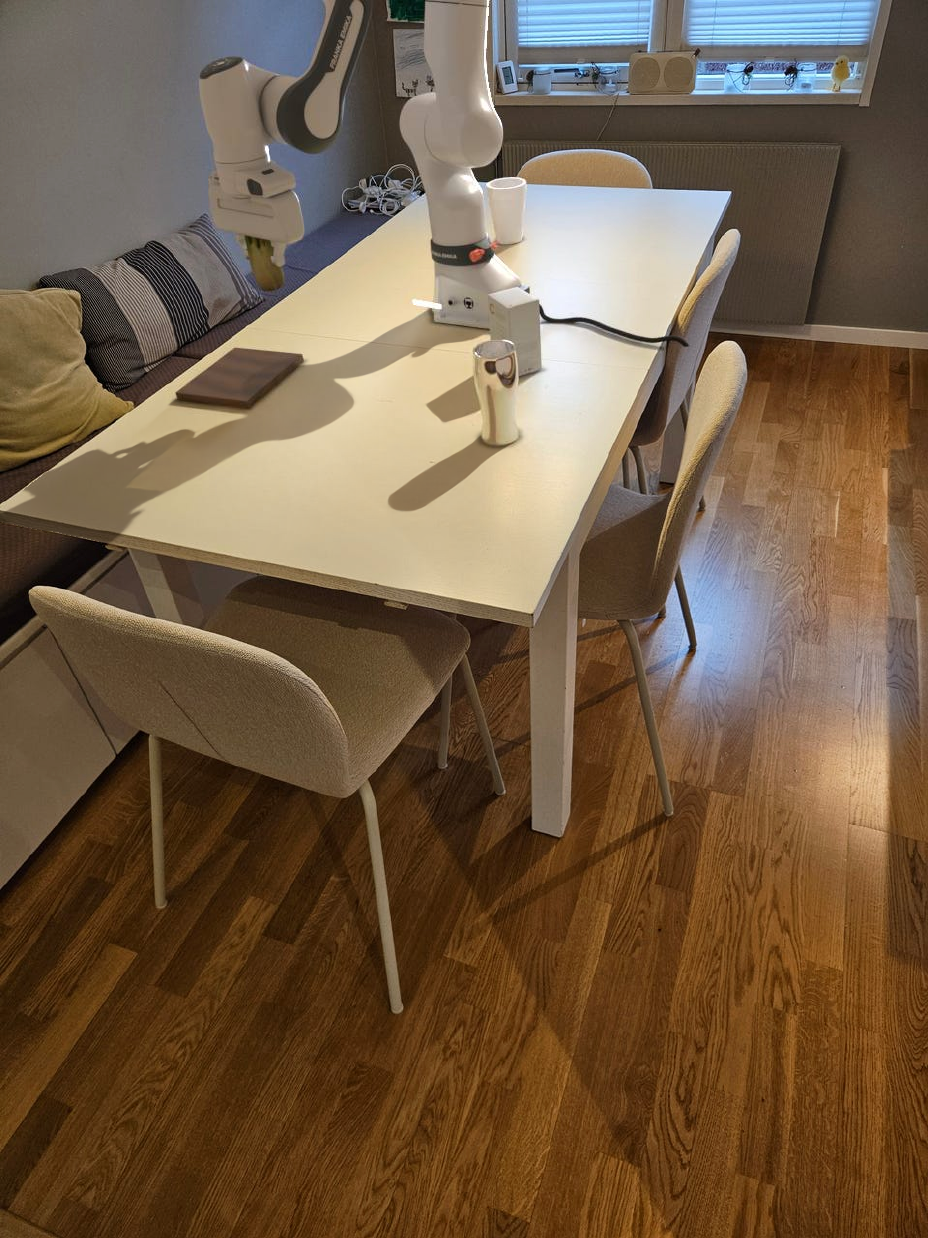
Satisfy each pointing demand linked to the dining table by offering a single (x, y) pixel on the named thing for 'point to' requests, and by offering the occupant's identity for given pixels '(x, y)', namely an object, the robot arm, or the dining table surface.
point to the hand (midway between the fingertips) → (265, 261)
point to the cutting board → (240, 377)
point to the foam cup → (507, 208)
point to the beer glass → (496, 390)
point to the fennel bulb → (264, 264)
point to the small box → (517, 325)
